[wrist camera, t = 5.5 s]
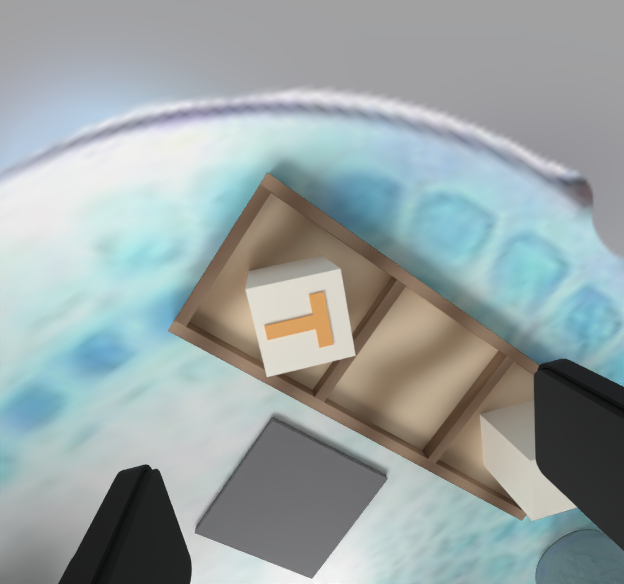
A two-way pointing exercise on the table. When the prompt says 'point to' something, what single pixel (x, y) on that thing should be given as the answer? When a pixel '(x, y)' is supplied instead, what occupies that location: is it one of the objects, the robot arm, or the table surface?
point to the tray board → (367, 343)
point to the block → (519, 460)
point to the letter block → (299, 314)
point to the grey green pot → (582, 560)
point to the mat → (290, 500)
